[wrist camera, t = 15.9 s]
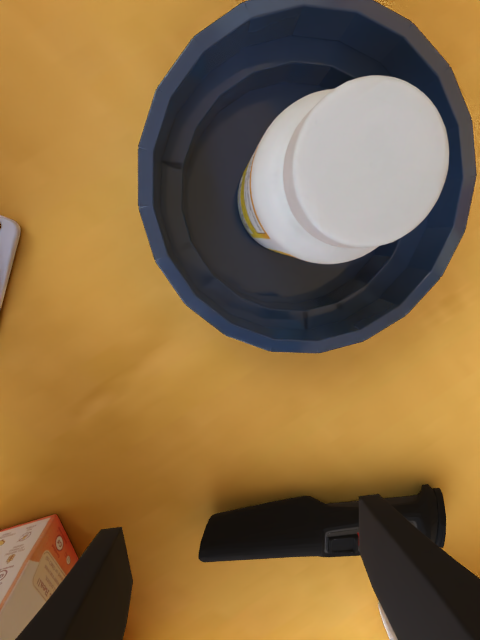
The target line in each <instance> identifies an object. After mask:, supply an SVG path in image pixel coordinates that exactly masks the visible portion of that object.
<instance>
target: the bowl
mask: <svg viewBox="0 0 480 640" xmlns="http://www.w3.org/2000/svg"><path fill="white" fill-rule="evenodd" d="M372 75H380V76H389V77H395V78H398V79H401V80H404V81H406V82H408V83H410V84H412V85H413V86H415V87H417V88H418V89H419V90H420V91H422V92H423V93H424V94H425V95H426V96H427V97H428V98H429V99H430V100H431V101H432V103H433V104H434V105H435V107H436V108H437V110H438V112H439V114H440V116H441V118H442V120H443V123H444V125H445V128H446V132H447V137H448V143H449V166H448V172H447V176H446V180H445V183H444V186H443V188H442V191H441V193H440V196H439V198H438V200H437V202H436V203H435V205H434V207H433V208H432V210H431V211H430V212H429V214H428V215H427V216H426V218H425V219H424V220H423V221H422V222H421V223H420V224H419V225H418V226H417V227H416V228H414V229H413V230H412V231H411V232H409V233H408V234H406V235H404V236H403V237H401V238H399V239H397V240H395V241H394V242H391V243H388V244H385V245H381V246H378V247H377V248H376V249H374V250H373V251H371V252H369V253H368V254H366V255H364V256H362V257H360V258H357V259H354V260H351V261H348V262H343V263H337V264H319V263H312V262H308V261H304V260H301V259H298V258H295V257H291V256H288V255H284V254H281V253H277V252H274V251H271V250H269V249H267V248H265V247H263V246H262V245H260V244H259V243H257V242H256V241H255V240H254V239H253V238H252V237H251V236H250V234H249V233H248V232H247V230H246V229H245V227H244V225H243V223H242V220H241V218H240V214H239V209H238V188H239V184H240V180H241V178H242V175H243V173H244V171H245V169H246V167H247V165H248V163H249V161H250V159H251V157H252V155H253V154H254V152H255V150H256V148H257V146H258V144H259V142H260V141H261V139H262V137H263V135H264V134H265V132H266V130H267V129H268V127H269V126H270V125H271V123H272V122H273V121H274V120H275V118H276V117H277V116H278V115H279V114H280V113H281V112H283V111H284V110H285V109H286V108H287V107H289V106H290V105H291V104H293V103H294V102H296V101H297V100H299V99H301V98H303V97H305V96H307V95H309V94H312V93H315V92H318V91H323V90H328V89H335V88H337V87H338V86H340V85H342V84H343V83H345V82H347V81H350V80H353V79H356V78H360V77H365V76H372ZM138 147H139V148H138V206H139V212H140V215H141V218H142V221H143V225H144V228H145V231H146V234H147V237H148V241H149V244H150V247H151V250H152V253H153V257H154V259H155V260H156V261H155V262H156V263H157V265H158V266H159V268H160V269H161V271H162V272H163V274H164V275H165V276H166V278H167V279H168V281H169V282H170V284H171V285H172V287H173V288H174V289H175V291H176V292H177V294H178V295H179V297H180V298H181V300H182V301H183V302H184V304H186V306H188V307H189V308H190V309H191V310H193V311H194V312H195V313H197V314H198V315H199V316H201V317H202V318H203V319H204V320H206V321H207V322H208V323H210V324H211V325H212V326H213V327H215V328H216V329H217V330H219V331H220V332H221V333H223V334H224V335H226V336H228V337H231V338H234V339H236V340H239V341H242V342H245V343H248V344H250V345H253V346H256V347H259V348H261V349H264V350H267V351H271V352H293V353H322V352H326V351H329V350H333V349H337V348H341V347H344V346H348V345H352V344H356V343H359V342H363V341H365V340H367V339H369V338H370V337H372V336H373V335H375V334H377V333H378V332H380V331H382V330H383V329H385V328H387V327H388V326H390V325H391V324H393V323H395V322H396V321H398V320H400V319H401V318H403V317H405V316H406V315H407V314H408V313H409V312H410V311H411V310H412V309H413V308H414V306H415V305H416V304H417V303H418V302H419V301H420V300H421V299H422V298H423V297H424V296H425V295H426V293H427V292H428V291H429V290H430V289H431V288H432V287H433V286H434V285H435V284H436V283H437V282H438V280H439V279H440V277H442V275H443V273H444V271H445V269H446V267H447V266H448V264H449V262H450V260H451V258H452V256H453V254H454V252H455V250H456V248H457V246H458V244H459V242H460V240H461V238H462V236H463V234H464V232H465V229H466V225H467V220H468V215H469V210H470V205H471V201H472V196H473V191H474V186H475V181H476V177H475V176H476V175H477V174H476V161H475V149H474V136H473V124H472V120H471V116H470V113H469V111H468V108H467V106H466V103H465V101H464V98H463V96H462V93H461V91H460V88H459V86H458V83H457V81H456V78H455V76H454V73H453V71H452V68H451V67H449V64H448V63H447V62H446V60H445V59H444V58H443V57H442V56H441V55H440V53H439V52H438V51H437V50H436V49H435V48H434V46H433V45H432V44H431V43H430V42H429V41H428V39H427V38H426V37H425V36H424V35H423V34H422V32H421V31H420V30H419V29H418V28H417V27H416V26H415V24H414V23H412V22H411V21H410V20H408V19H406V18H405V17H403V16H401V15H399V14H397V13H396V12H394V11H392V10H390V9H388V8H386V7H385V6H383V5H381V4H379V3H377V2H376V1H374V0H248V1H245V2H242V3H240V4H239V5H238V6H236V7H235V8H233V9H232V10H231V11H229V12H228V13H226V14H225V15H223V16H222V17H221V18H219V19H218V20H216V21H215V22H214V23H212V24H211V25H209V26H208V27H206V28H205V29H204V30H202V31H201V32H199V33H198V34H196V35H195V36H194V37H193V38H192V39H191V41H190V42H189V43H188V45H187V46H186V48H185V49H184V50H183V52H182V53H181V55H180V56H179V57H178V59H177V60H176V62H175V63H174V64H173V66H172V67H171V69H170V70H169V71H168V73H167V74H166V76H165V77H164V78H163V80H162V81H161V83H160V84H159V85H158V87H157V89H156V91H155V94H154V97H153V100H152V104H151V107H150V110H149V113H148V116H147V120H146V123H145V126H144V129H143V132H142V136H141V139H140V142H139V145H138Z"/></svg>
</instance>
